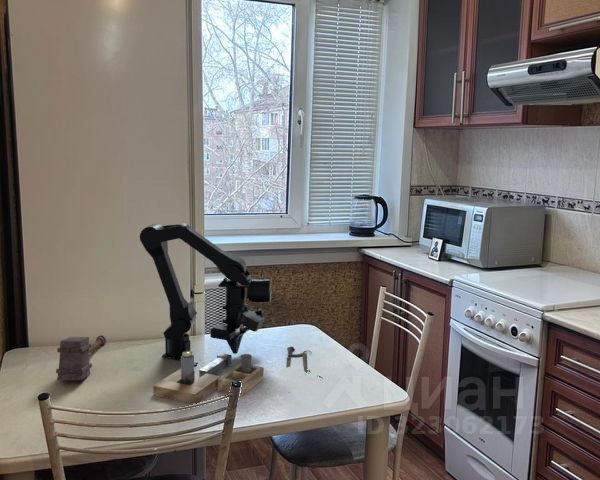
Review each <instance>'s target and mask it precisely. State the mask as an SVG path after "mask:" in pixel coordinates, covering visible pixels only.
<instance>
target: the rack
mask: <svg viewBox="0 0 600 480" xmlns="http://www.w3.org/2000/svg"><path fill="white" fill-rule="evenodd" d="M252 360H253V359H252V355H251V354H250V353H249V354H248V353H243V354H241V355H240V363H238V364H237V365H236V366H234V367H233V368H232V369H230V370H229V371H228V372H226V373H225V374H223V375H222V376H220V378H219V379H218V388H217V391H218V392H224V393H228V394H230V393H229V391H230V387H231V383H232V382H233V381H241V383H242V387H241V393H240V395H239V396H241V397H242V396H244V395H245V394H247V392H249V391H250V390H251V389H253V387H255V386H256V385H257V384H258V383H259V382H260V381H262V380H263V379H264V375H265V373H264V366H263V367H262V366H260V365H259V366H257V365H253V364H252Z"/></svg>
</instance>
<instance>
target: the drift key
mask: <svg viewBox="0 0 600 480" xmlns="http://www.w3.org/2000/svg"><path fill="white" fill-rule="evenodd" d="M232 361H233V356H232V354H229V353H228V354H227V353H223V352H220V353H218V354H217V355H216V358H215V359H214V360H212V361H211V362H209V363H208V364H206V365H205V366H203V367H201V368H200V369H199V370H198V379H199V378H200V377H202V376H203V375H205V374H206V373H207V374H212V375H216V374H219V372H221V371H222V370H223V369H225V368H226V367H227V368H229V367H230V366H232V364H233V363H232Z"/></svg>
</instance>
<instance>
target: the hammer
mask: <svg viewBox="0 0 600 480" xmlns="http://www.w3.org/2000/svg"><path fill="white" fill-rule="evenodd" d="M59 343H60V345H59V347H58V348H57V349H56V350H57V351H56V352H57V353H59V362H58V368H56V369H55V374H57V377H56V380H57V381H82V380H84V379H86V378H87V377H89V376H90V375H91V368H92V367H93V364H92V363H90V353H92V352H93V351H95V350H96V349H97V348H99V347H100V346H102V345H105V344H106V343H107V337H106V336H105V335H103V334H100V335H99V336H97V337H96V338H95V341H94V342H93V343H90V337H89V336H70V337H67V338H65V339H62V340H60V342H59Z"/></svg>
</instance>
